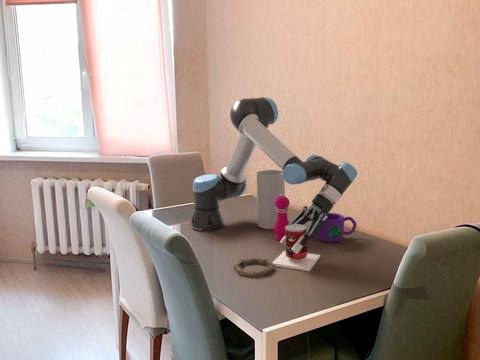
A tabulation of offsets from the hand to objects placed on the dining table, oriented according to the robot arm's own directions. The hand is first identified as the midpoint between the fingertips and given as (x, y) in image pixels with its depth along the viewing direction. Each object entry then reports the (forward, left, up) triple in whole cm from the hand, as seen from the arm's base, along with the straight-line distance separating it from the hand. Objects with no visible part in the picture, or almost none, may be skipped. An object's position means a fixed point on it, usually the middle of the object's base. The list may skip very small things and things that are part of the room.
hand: (288, 247), depth 170 cm
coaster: (+2, +3, -6) cm, 7 cm away
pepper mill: (-11, +25, -6) cm, 27 cm away
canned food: (+2, +3, -4) cm, 5 cm away
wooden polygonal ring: (-10, -9, -6) cm, 15 cm away
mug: (+10, +33, -6) cm, 35 cm away
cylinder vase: (-22, +41, -6) cm, 46 cm away
